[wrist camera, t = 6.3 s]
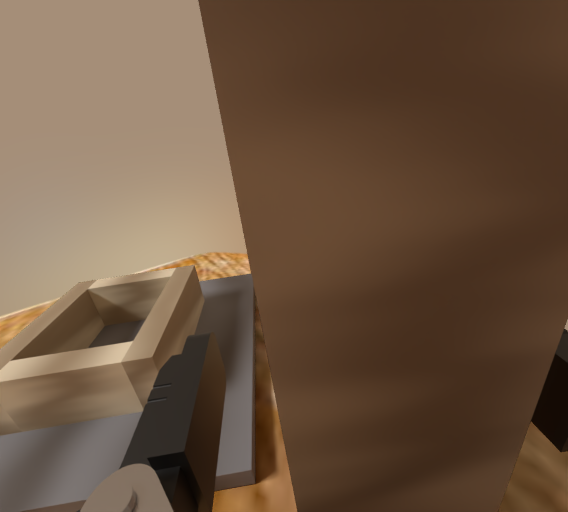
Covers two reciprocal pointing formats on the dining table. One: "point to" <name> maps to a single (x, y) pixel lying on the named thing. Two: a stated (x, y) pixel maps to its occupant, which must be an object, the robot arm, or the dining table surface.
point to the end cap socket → (116, 381)
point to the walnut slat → (400, 233)
